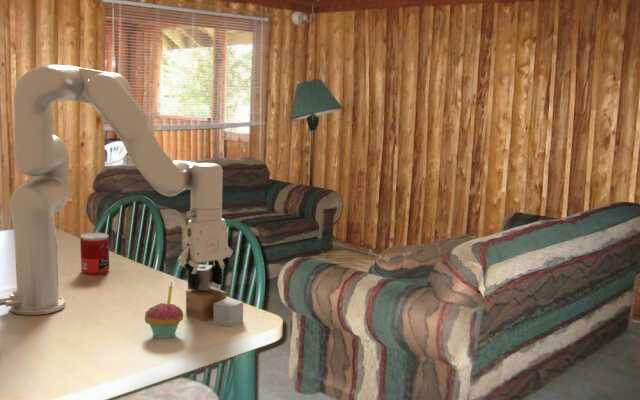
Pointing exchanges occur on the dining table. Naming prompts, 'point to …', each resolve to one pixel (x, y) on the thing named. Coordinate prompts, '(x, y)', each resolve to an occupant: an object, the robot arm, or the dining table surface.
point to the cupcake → (164, 318)
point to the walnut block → (203, 302)
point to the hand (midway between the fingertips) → (205, 285)
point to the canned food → (94, 253)
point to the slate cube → (228, 312)
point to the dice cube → (204, 277)
